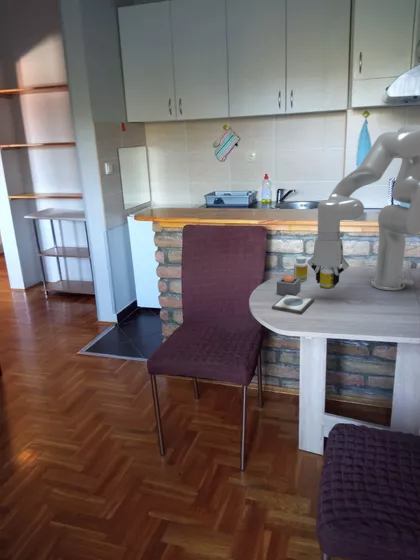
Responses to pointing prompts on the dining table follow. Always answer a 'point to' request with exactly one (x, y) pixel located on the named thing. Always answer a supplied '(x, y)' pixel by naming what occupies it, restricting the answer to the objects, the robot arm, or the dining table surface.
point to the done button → (289, 278)
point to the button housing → (288, 287)
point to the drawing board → (293, 304)
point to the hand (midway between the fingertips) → (327, 282)
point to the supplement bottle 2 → (327, 278)
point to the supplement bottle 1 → (300, 268)
